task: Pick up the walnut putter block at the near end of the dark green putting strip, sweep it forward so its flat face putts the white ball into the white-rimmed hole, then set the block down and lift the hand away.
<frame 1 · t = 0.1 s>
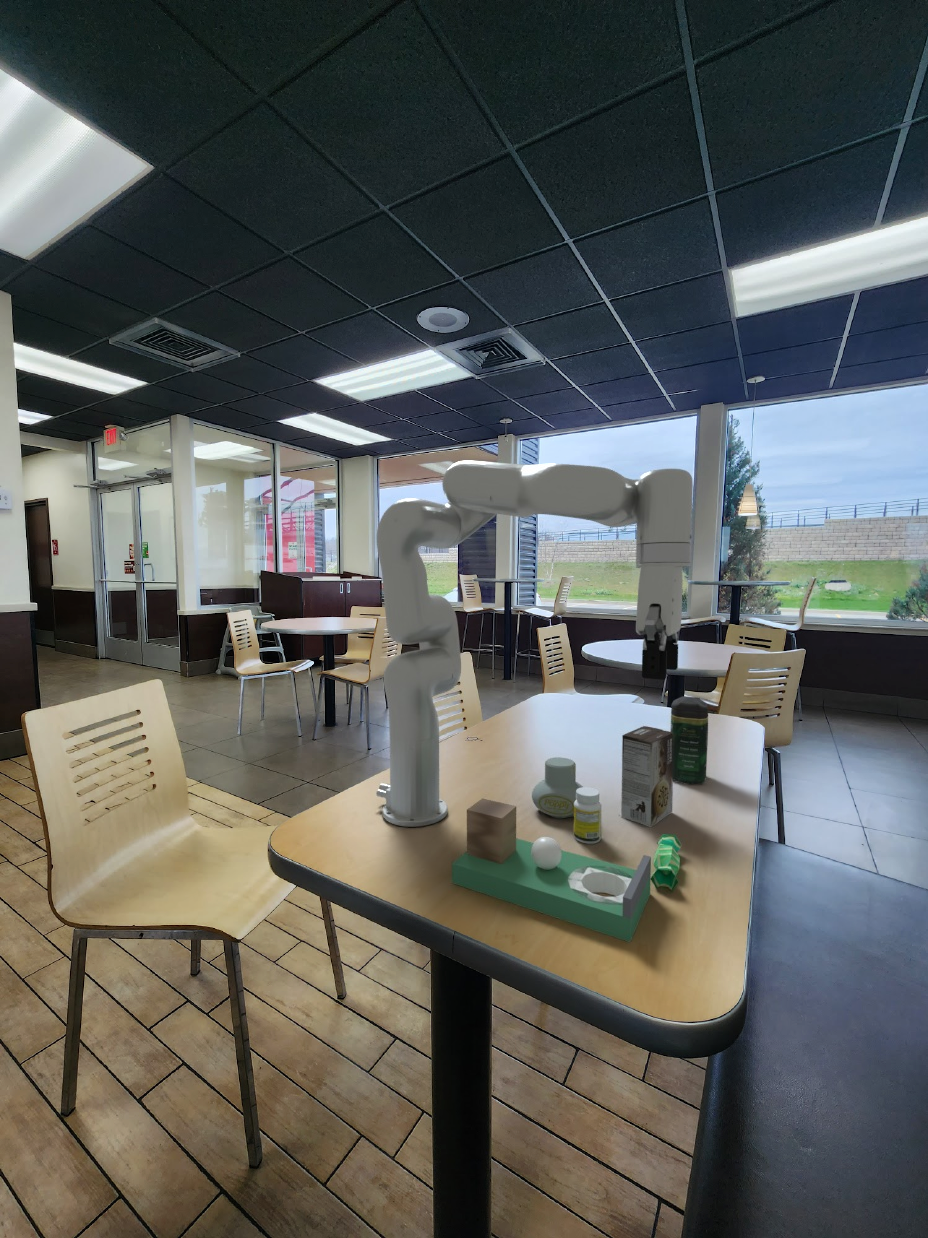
hand: (660, 673, 78), 31 cm above the table, tool pointing down, fingers open, 9 cm apart
ball: (546, 853, 77), point 5 cm above the table, touching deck
candy: (666, 873, 83), on the table
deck: (549, 888, 78), on the table
supplement bottle: (587, 839, 93), on the table
coffee box: (646, 816, 102), on the table
putter block: (491, 852, 82), point 3 cm above the table, touching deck
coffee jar: (687, 779, 122), on the table
air freshener: (559, 812, 104), on the table
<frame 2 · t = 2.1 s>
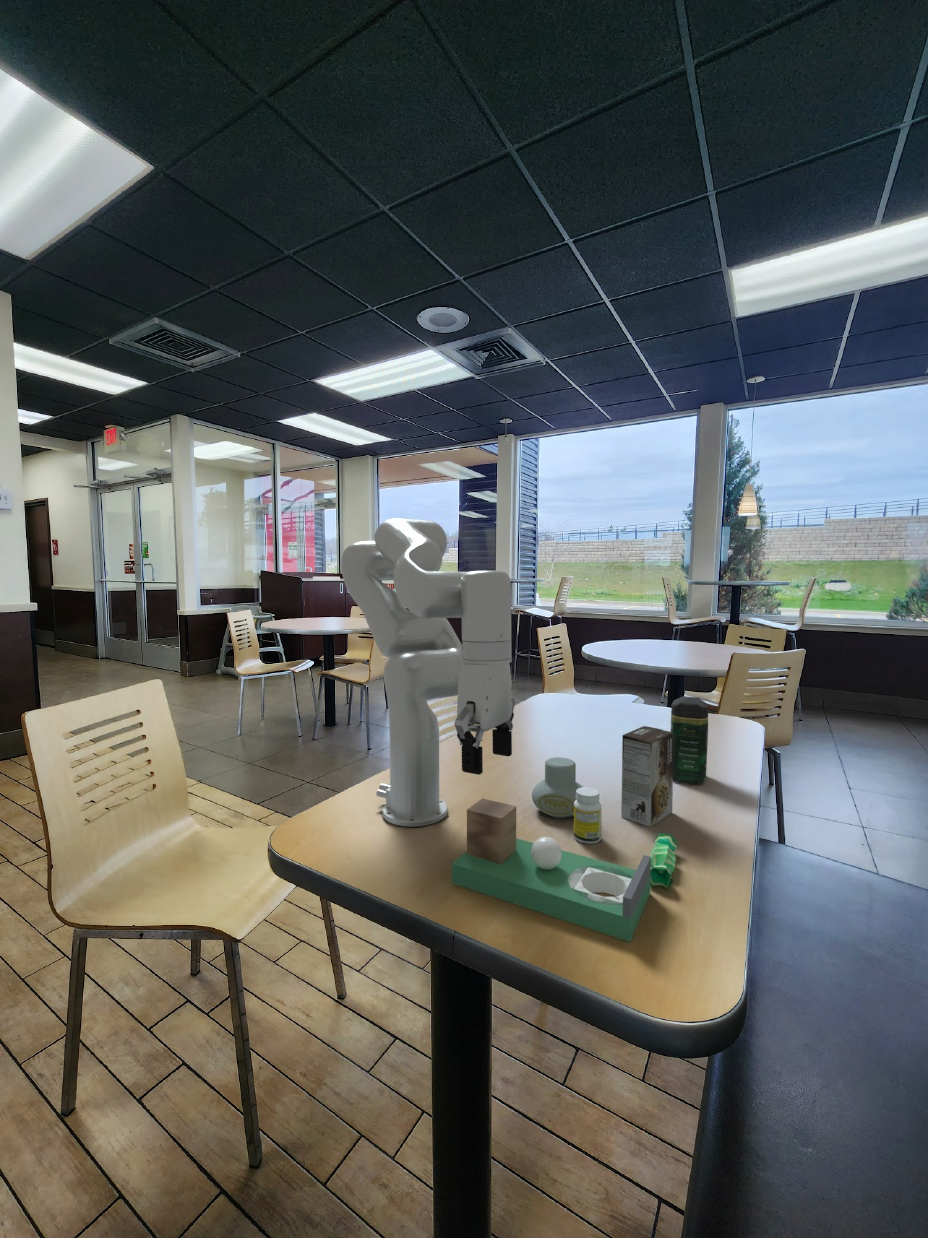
hand: (488, 763, 81), 17 cm above the table, tool pointing down, fingers open, 9 cm apart
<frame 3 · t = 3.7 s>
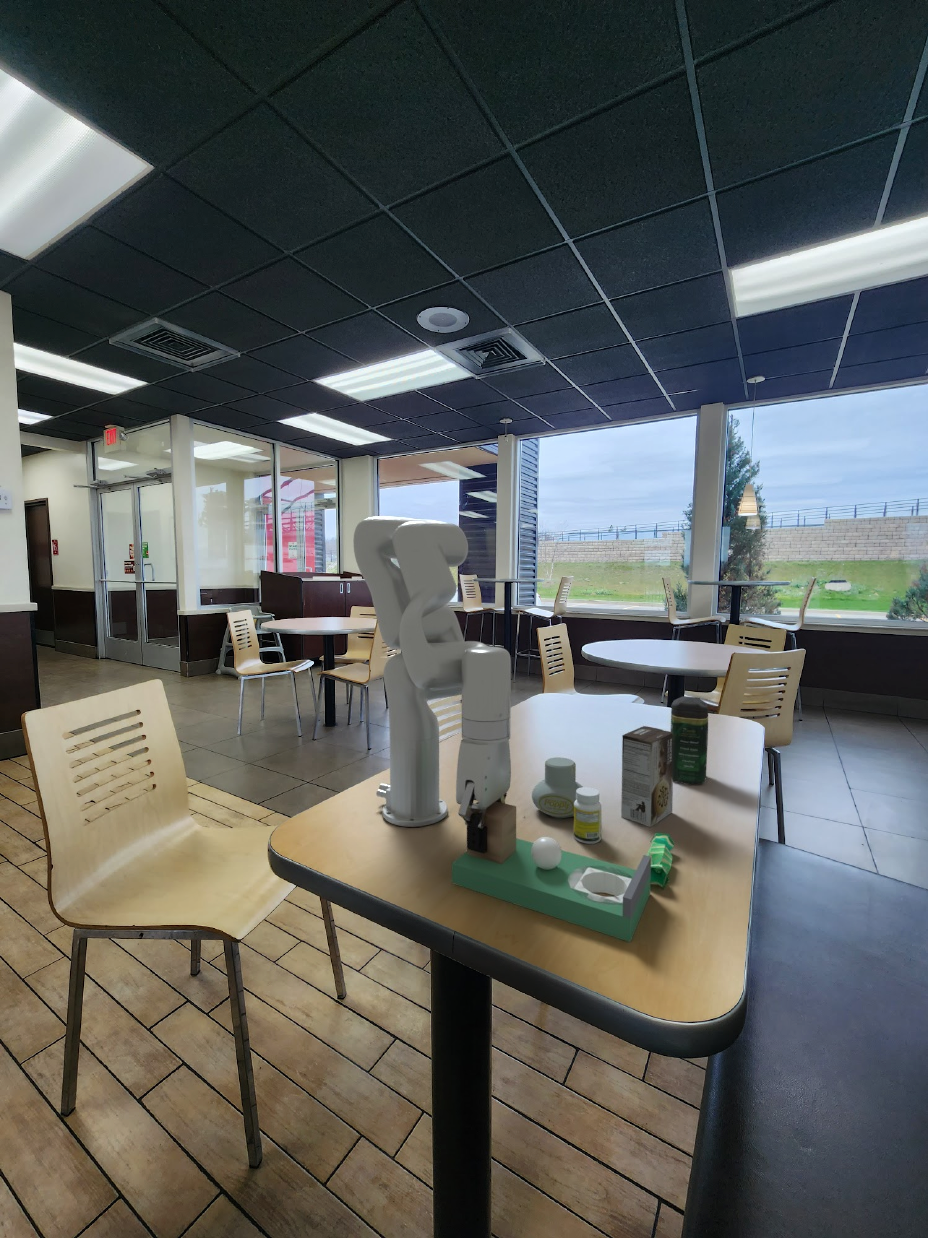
hand: (485, 841, 83), 4 cm above the table, tool pointing down, fingers closed on putter block, 5 cm apart
putter block: (491, 852, 82), point 3 cm above the table, touching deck, gripper
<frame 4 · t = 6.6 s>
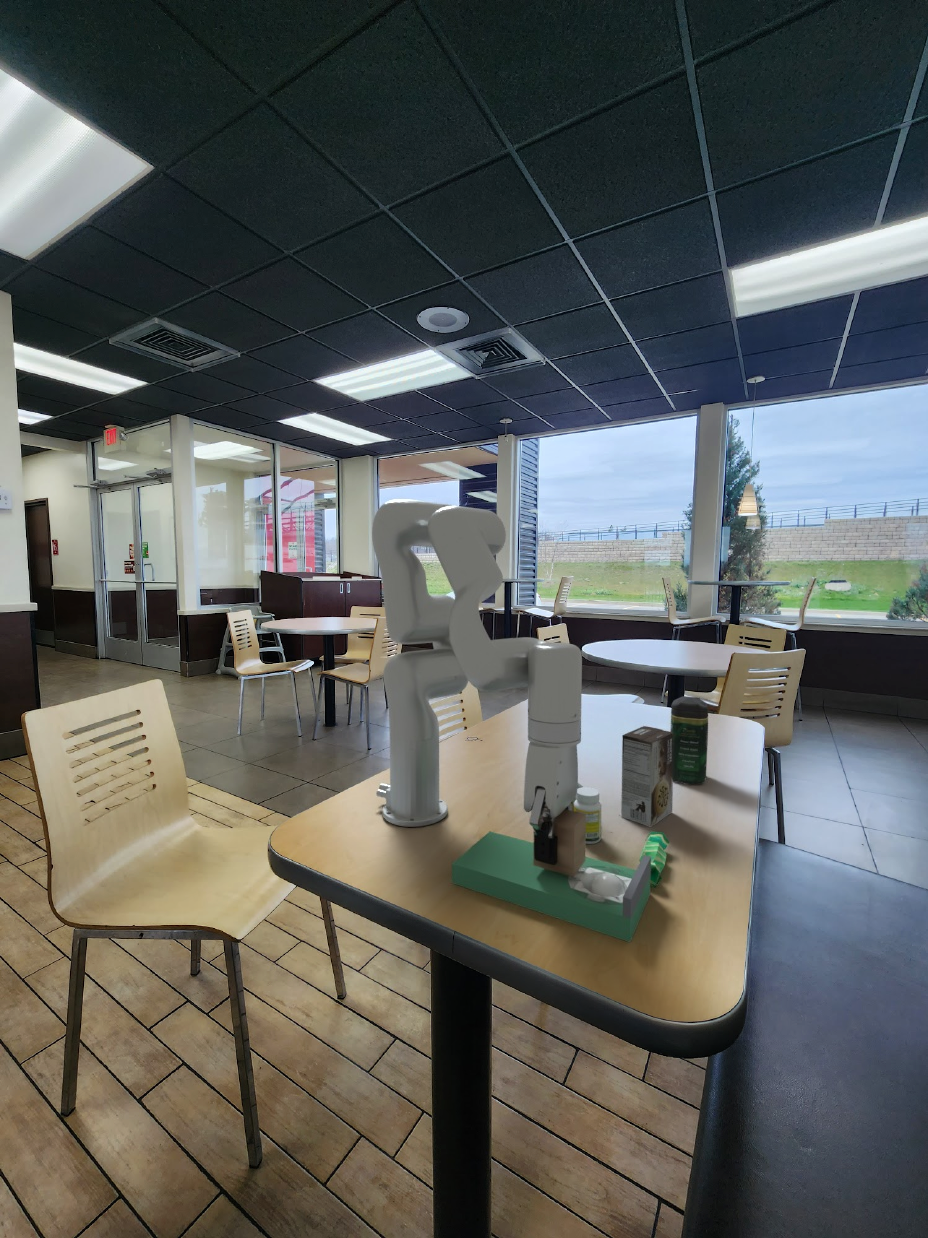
hand: (553, 852, 77), 6 cm above the table, tool pointing down, fingers closed on putter block, 5 cm apart
ball: (607, 891, 73), point 2 cm above the table, tilted 88°
putter block: (559, 863, 77), point 4 cm above the table, touching gripper
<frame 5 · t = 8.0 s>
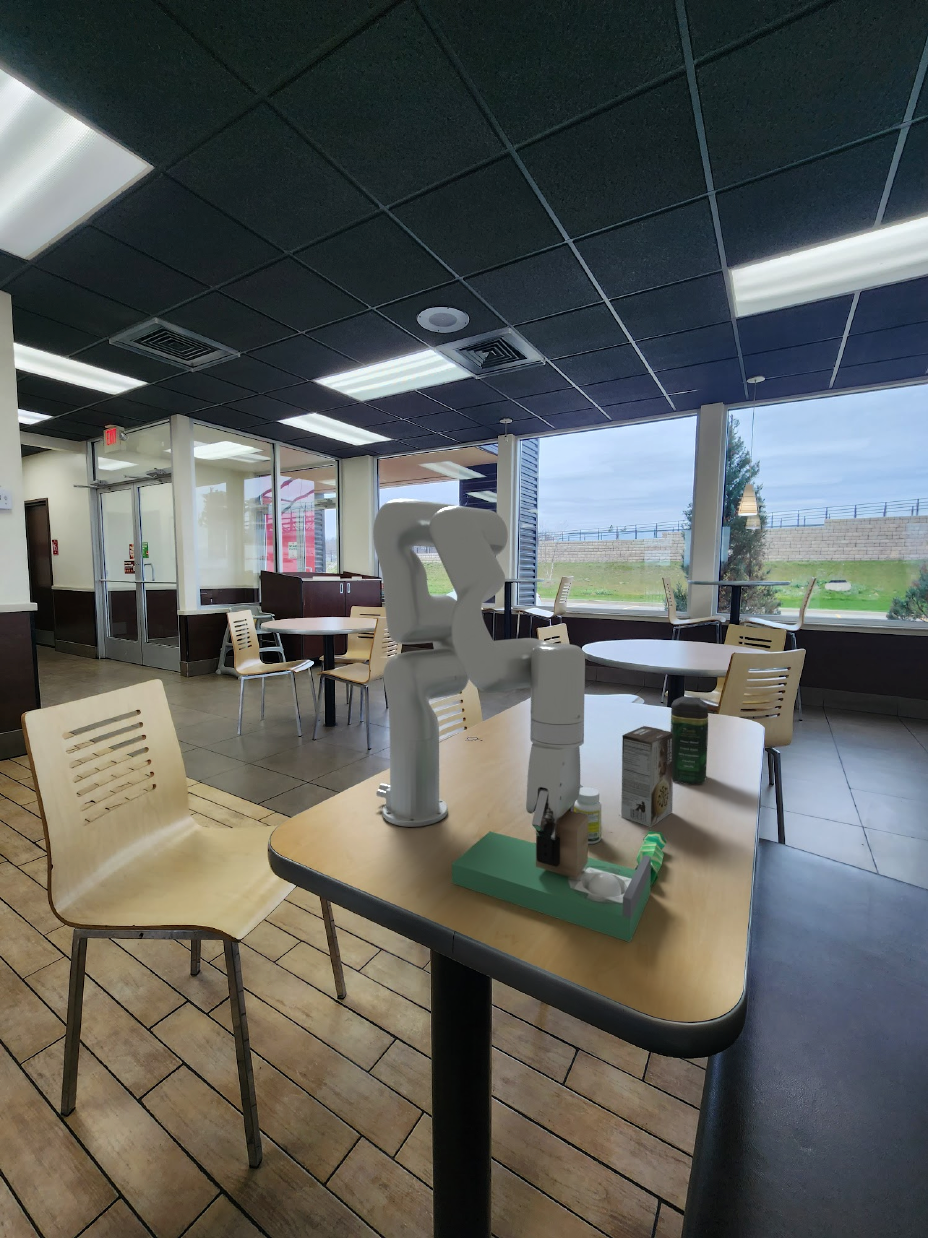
hand: (555, 853, 77), 6 cm above the table, tool pointing down, fingers closed on putter block, 5 cm apart
ball: (604, 890, 73), point 2 cm above the table, tilted 100°
putter block: (561, 864, 76), point 4 cm above the table, touching gripper
when the fingers open (6 cm above the table, at t = 9.1 s): putter block drops 1 cm, resting on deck.
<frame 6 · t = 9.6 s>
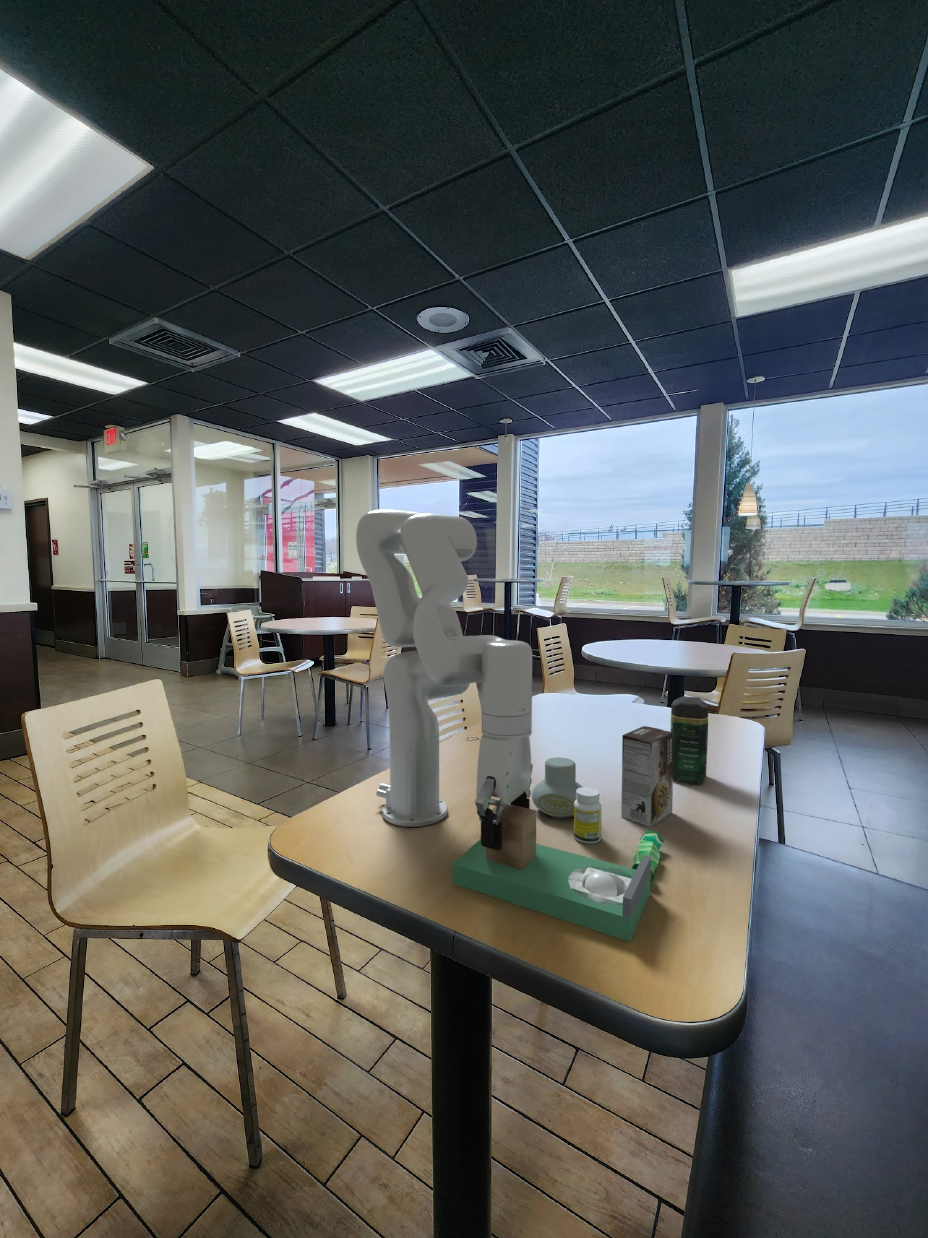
hand: (506, 834, 81), 6 cm above the table, tool pointing down, fingers open, 9 cm apart
ball: (600, 889, 74), point 2 cm above the table, tilted 114°
putter block: (511, 857, 81), point 3 cm above the table, touching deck
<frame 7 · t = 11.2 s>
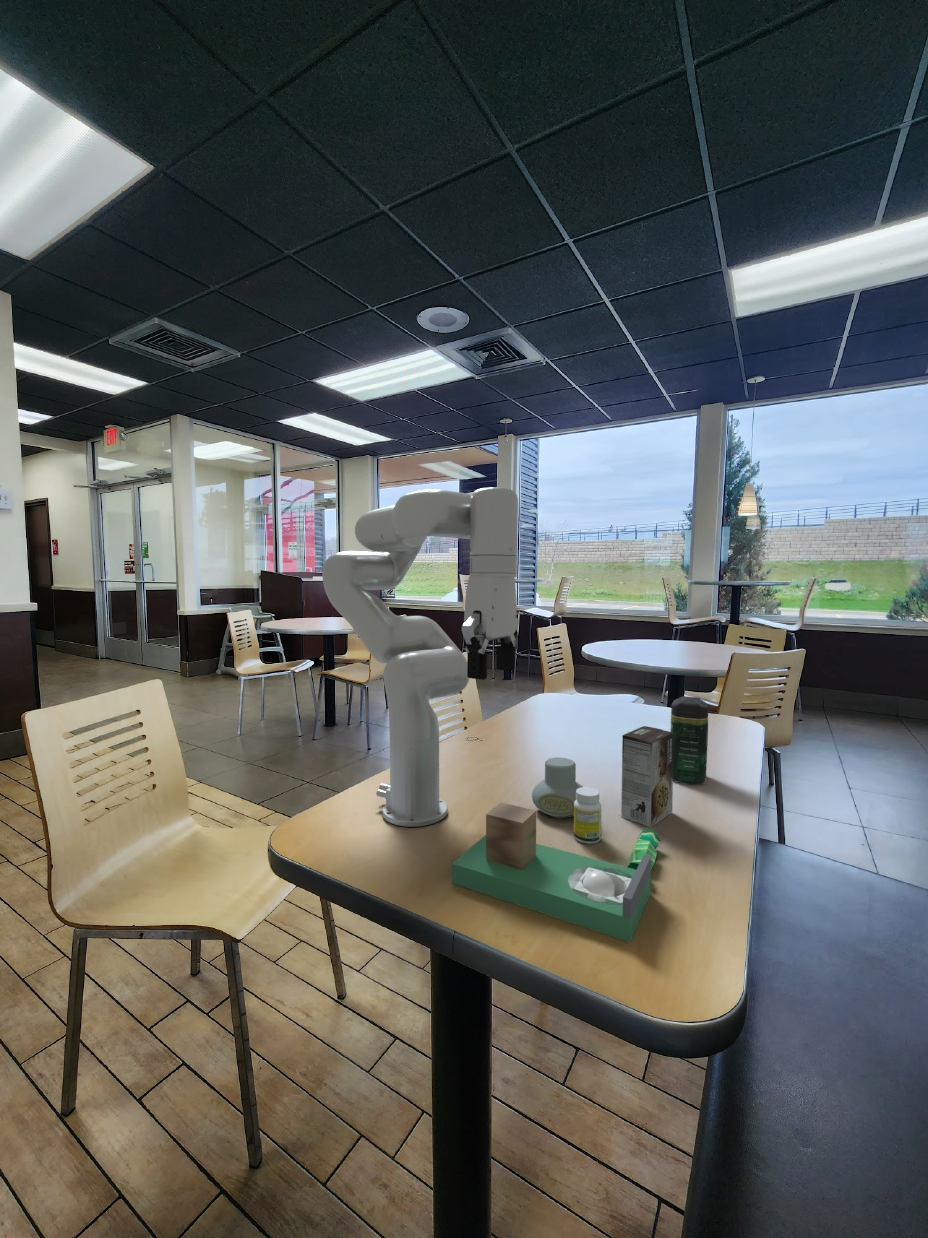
hand: (491, 673, 86), 30 cm above the table, tool pointing down, fingers open, 9 cm apart
ball: (598, 888, 74), point 2 cm above the table, tilted 123°
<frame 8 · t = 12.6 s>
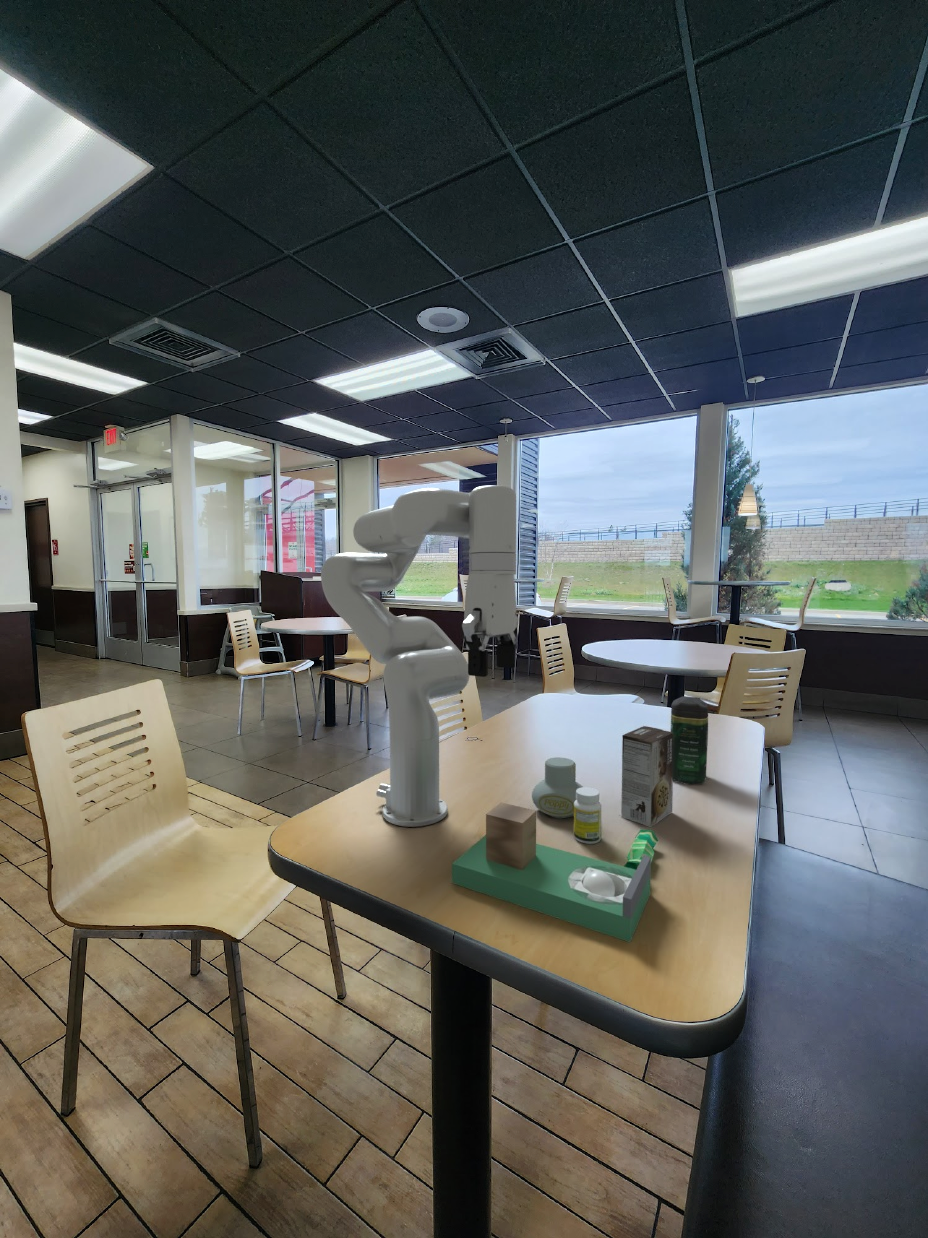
hand: (492, 671, 86), 30 cm above the table, tool pointing down, fingers open, 9 cm apart
at the end: ball 0.8 cm from the target spot on the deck, point 2.2 cm above the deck's base; the gripper is holding nothing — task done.
